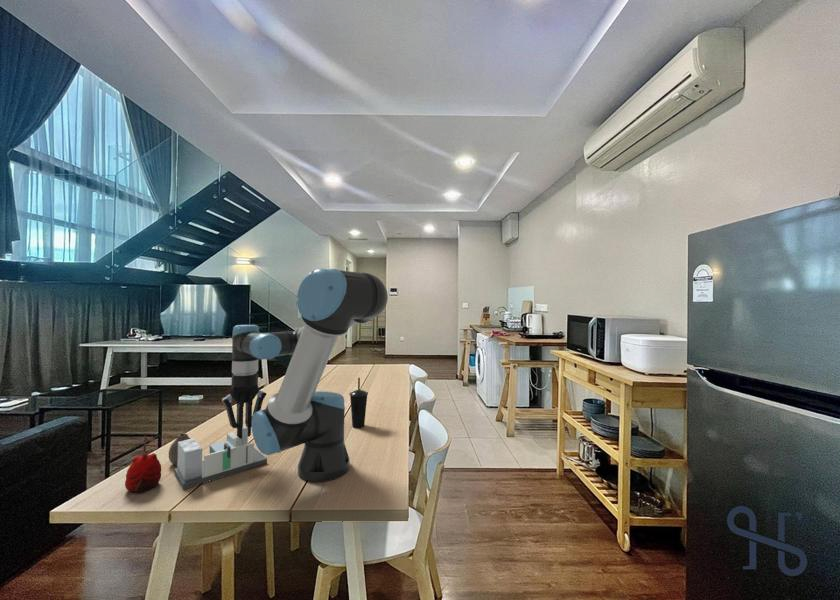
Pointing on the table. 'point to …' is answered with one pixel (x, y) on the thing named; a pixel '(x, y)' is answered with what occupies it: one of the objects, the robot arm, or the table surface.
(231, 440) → the gauge plunger
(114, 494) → the table surface
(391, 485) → the table surface
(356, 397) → the drinking cup
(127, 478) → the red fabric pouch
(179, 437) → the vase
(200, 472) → the white vise jaw block
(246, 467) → the base
